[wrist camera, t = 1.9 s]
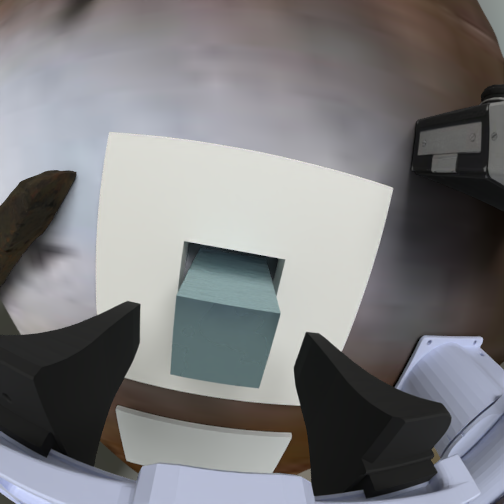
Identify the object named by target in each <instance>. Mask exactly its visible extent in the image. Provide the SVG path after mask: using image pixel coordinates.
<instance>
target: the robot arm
mask: <svg viewBox="0 0 504 504" xmlns="http://www.w3.org/2000/svg"><path fill="white" fill-rule="evenodd" d="M140 307H141V304H139V303H135V302H130V301H126V302H124V303H121V304H119V305H117V306H115V307H113V308H111V309H109V310H107V311H105V312H103V313H101V314H99V315H97V316H94V317H92V318H90V319H87V320H85V321H83V322H80V323H78V324H75V325H72V326H69V327H65V328H62V329H58V330H53V331H48V332H43V333H37V334H28V335H0V492H1V493H2V494H3V495H5V496H6V497H7V498H9V499H10V500H12V501H13V502H15V503H16V504H504V370H503V369H502V368H501V367H500V366H499V365H498V364H497V363H496V362H495V361H494V360H493V359H492V358H491V357H490V356H488V355H487V354H486V353H485V352H484V351H483V350H482V349H481V348H480V346H481V344H482V342H483V338H482V337H468V336H428V335H425V336H423V337H421V338H420V340H419V342H418V344H417V346H416V348H415V350H414V352H413V354H412V356H411V358H410V360H409V362H408V364H407V366H406V368H405V369H404V371H403V373H402V375H401V377H400V379H399V380H398V382H397V384H396V386H395V387H392V386H390V385H388V384H386V383H384V382H383V381H381V380H379V379H377V378H376V377H374V376H373V375H371V374H369V373H368V372H366V371H365V370H363V369H362V368H361V367H359V366H358V365H357V364H355V363H354V362H353V361H352V360H350V359H349V358H348V357H347V356H346V355H344V354H343V353H342V352H341V351H340V350H339V349H337V348H336V347H335V346H334V345H333V344H332V343H331V342H329V341H328V340H327V339H326V338H325V337H323V336H322V335H321V334H319V333H313V332H306V333H305V336H304V339H303V342H302V345H301V348H300V351H299V354H298V356H297V359H296V362H295V365H294V379H295V386H296V391H297V394H298V398H299V402H300V406H301V410H302V413H303V417H304V421H305V425H306V429H307V435H308V443H309V452H310V464H311V482H309V481H308V480H306V479H304V478H303V477H301V476H298V475H292V474H283V473H253V472H238V471H226V470H217V469H209V468H202V467H195V466H189V465H183V464H173V463H162V462H160V463H155V464H150V465H146V466H143V467H142V468H141V470H140V472H139V474H138V478H137V481H135V480H132V479H129V478H125V477H122V476H118V475H115V474H112V473H109V472H106V471H103V470H101V469H98V468H95V467H94V463H95V458H96V453H97V449H98V445H99V441H100V438H101V434H102V431H103V427H104V424H105V421H106V418H107V415H108V412H109V409H110V406H111V403H112V401H113V399H114V397H115V395H116V393H117V391H118V389H119V387H120V385H121V383H122V381H123V379H124V377H125V376H126V374H127V372H128V370H129V368H130V366H131V364H132V362H133V360H134V358H135V355H136V352H137V350H138V347H139V344H140ZM433 447H434V448H435V449H436V451H437V452H438V454H439V456H440V458H441V459H440V460H439V461H438V462H437V463H435V464H434V465H433V463H432V461H431V459H432V458H433V457H434V454H433V452H432V450H431V449H432V448H433ZM311 484H312V485H311ZM502 495H503V496H502ZM501 496H502V497H501ZM500 497H501V498H500Z"/></svg>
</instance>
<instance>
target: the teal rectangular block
mask: <svg viewBox="0 0 504 504" xmlns="http://www.w3.org/2000/svg"><path fill="white" fill-rule="evenodd" d="M280 315H281V312H280V309H279V305H278V301H277V298H276V294H275V290H274V287H273V283H272V279H271V276H270V272H269V268H268V265H267V261H266V259H265V258H259V257H254V256H248V255H243V254H237V253H232V252H226V251H221V250H215V249H210V248H204V247H200V249H199V251H198V253H197V255H196V257H195V259H194V261H193V263H192V265H191V267H190V269H189V271H188V273H187V275H186V277H185V279H184V281H183V283H182V285H181V287H180V289H179V291H178V293H177V295H176V304H175V315H174V326H173V339H172V353H171V370H170V374H171V375H176V376H181V377H186V378H191V379H196V380H202V381H208V382H214V383H220V384H227V385H234V386H242V387H250V388H259V387H260V383H261V380H262V377H263V374H264V370H265V367H266V364H267V360H268V357H269V353H270V350H271V346H272V343H273V340H274V336H275V332H276V329H277V325H278V322H279V318H280Z"/></svg>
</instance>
